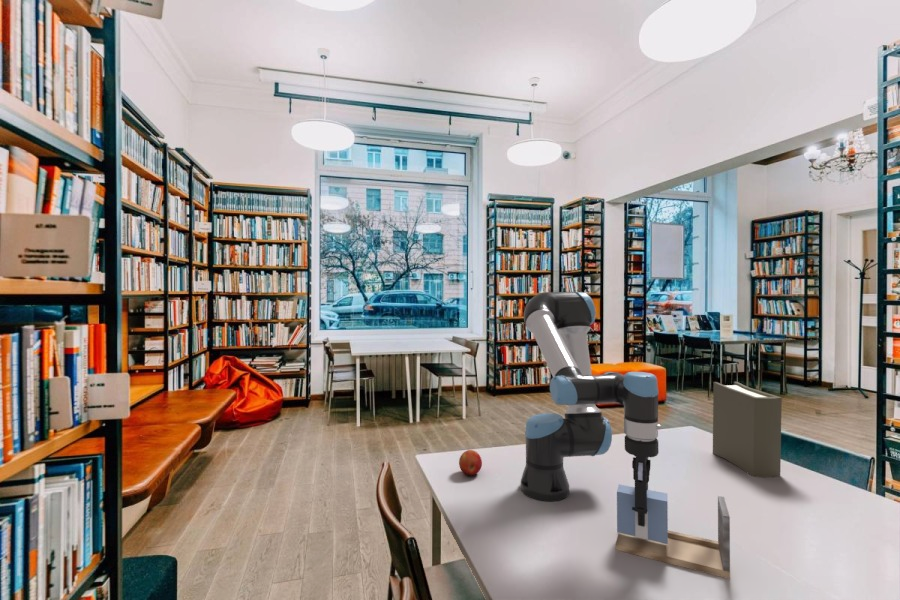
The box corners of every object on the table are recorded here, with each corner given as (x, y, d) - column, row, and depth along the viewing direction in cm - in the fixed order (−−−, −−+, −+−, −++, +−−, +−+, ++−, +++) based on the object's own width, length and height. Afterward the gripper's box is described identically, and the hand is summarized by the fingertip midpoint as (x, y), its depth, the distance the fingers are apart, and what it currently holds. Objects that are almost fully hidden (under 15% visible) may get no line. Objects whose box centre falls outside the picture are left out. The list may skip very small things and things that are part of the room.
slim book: (617, 532, 101) (616, 491, 101) (619, 523, 105) (618, 484, 105) (667, 544, 96) (667, 501, 96) (667, 534, 100) (667, 493, 100)
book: (782, 478, 139) (783, 396, 138) (755, 479, 139) (756, 396, 138) (736, 452, 161) (737, 381, 160) (712, 453, 160) (713, 382, 159)
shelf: (616, 549, 100) (615, 494, 100) (620, 528, 109) (619, 478, 109) (730, 578, 89) (729, 516, 89) (724, 553, 98) (723, 496, 98)
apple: (483, 470, 147) (482, 447, 146) (480, 480, 138) (480, 456, 138) (460, 468, 148) (460, 446, 148) (457, 478, 140) (457, 455, 140)
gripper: (657, 450, 91) (658, 556, 91) (658, 428, 107) (659, 518, 107) (621, 445, 95) (622, 547, 95) (627, 424, 110) (628, 511, 110)
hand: (642, 531), depth 101 cm, fingers closed on slim book, 4 cm apart
